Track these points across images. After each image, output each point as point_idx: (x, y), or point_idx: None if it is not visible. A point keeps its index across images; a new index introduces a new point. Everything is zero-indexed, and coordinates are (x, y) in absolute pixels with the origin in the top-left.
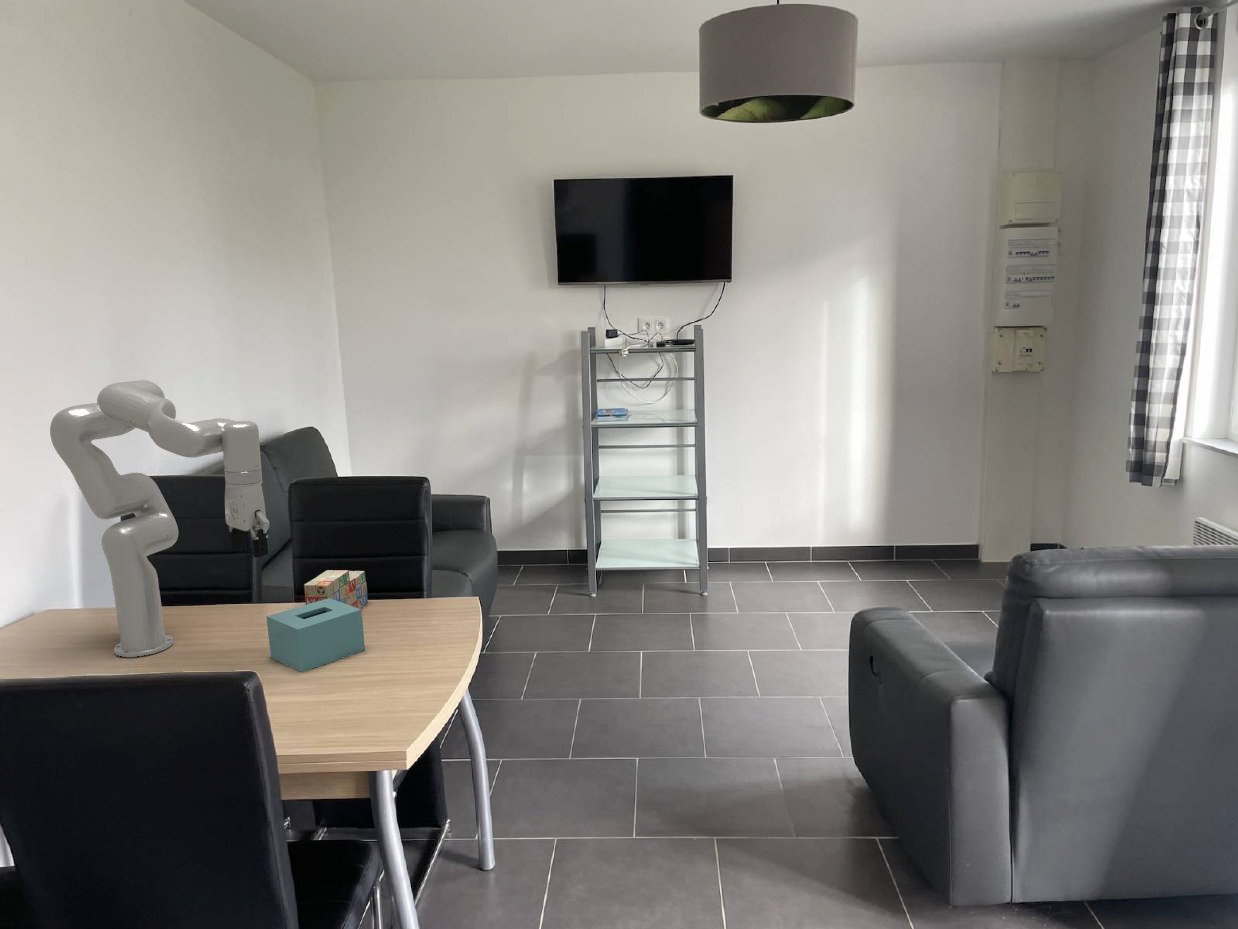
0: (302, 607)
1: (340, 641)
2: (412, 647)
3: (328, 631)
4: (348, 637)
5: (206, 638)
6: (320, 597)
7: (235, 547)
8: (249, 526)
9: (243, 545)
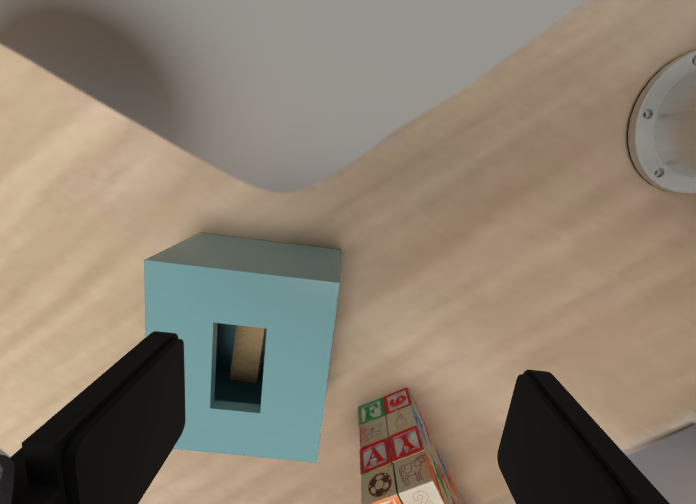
0: (312, 381)
1: None
2: None
3: None
4: None
5: (593, 245)
6: (380, 465)
7: (520, 394)
8: None
9: (504, 455)
